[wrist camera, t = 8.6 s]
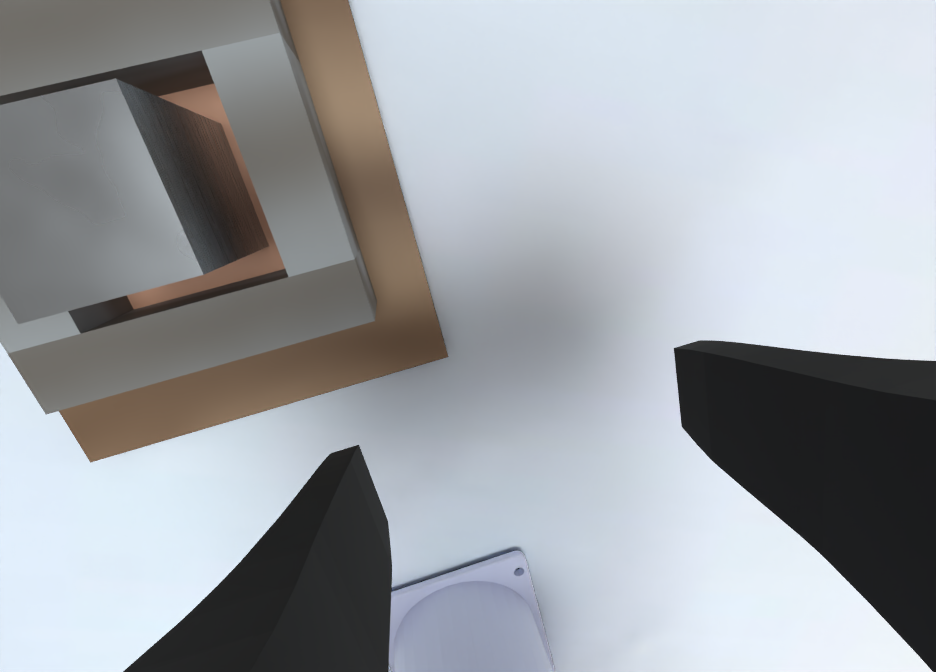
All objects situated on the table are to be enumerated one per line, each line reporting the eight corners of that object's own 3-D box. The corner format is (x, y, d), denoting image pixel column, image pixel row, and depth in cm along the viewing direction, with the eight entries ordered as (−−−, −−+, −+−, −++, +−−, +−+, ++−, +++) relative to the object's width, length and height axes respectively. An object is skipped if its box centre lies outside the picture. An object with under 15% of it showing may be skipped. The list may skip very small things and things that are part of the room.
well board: (445, 350, 19) (459, 386, 15) (103, 451, 18) (31, 515, 14) (311, -127, 14) (285, -240, 10) (-186, -29, 13) (-411, -117, 9)
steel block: (269, 246, 16) (203, 274, 10) (152, 277, 16) (18, 324, 10) (221, 123, 15) (115, 78, 9) (93, 154, 14) (-102, 128, 9)
